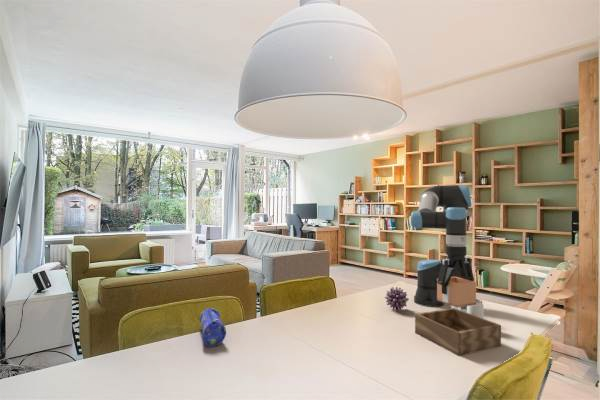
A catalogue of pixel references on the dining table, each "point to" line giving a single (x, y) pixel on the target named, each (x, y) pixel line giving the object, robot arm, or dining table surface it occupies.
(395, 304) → the purple spiky ball
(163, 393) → the dining table surface
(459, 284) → the small crate
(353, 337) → the dining table surface
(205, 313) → the pencil case
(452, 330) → the large crate
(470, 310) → the can
